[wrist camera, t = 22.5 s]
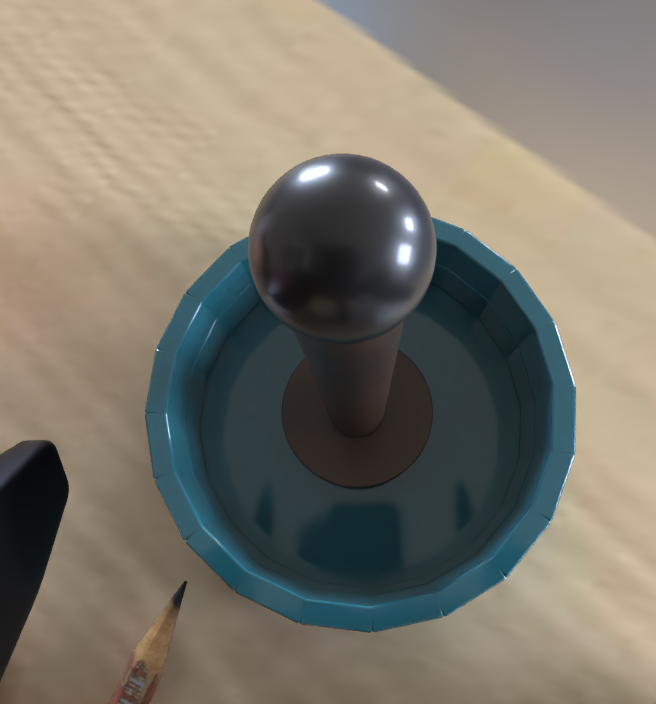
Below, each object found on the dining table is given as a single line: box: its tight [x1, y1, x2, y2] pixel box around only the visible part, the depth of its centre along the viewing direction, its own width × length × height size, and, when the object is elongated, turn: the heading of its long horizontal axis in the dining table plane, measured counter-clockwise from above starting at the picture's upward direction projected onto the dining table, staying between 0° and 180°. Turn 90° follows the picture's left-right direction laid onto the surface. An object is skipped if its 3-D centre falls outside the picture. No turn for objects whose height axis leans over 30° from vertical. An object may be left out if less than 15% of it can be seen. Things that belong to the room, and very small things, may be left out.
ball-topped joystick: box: [248, 154, 436, 489], centre depth 13 cm, size 4×4×14 cm
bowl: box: [145, 217, 576, 633], centre depth 18 cm, size 11×11×4 cm
